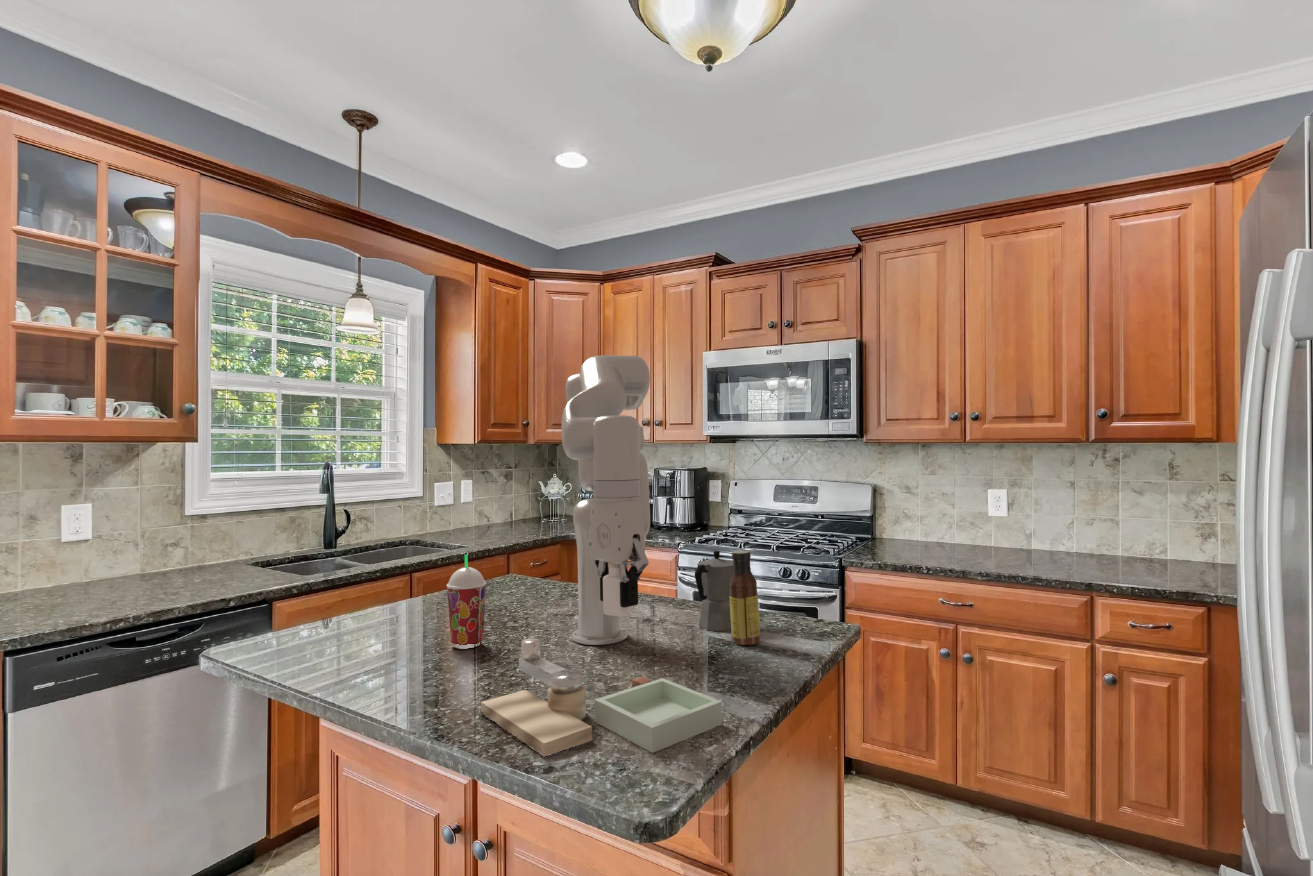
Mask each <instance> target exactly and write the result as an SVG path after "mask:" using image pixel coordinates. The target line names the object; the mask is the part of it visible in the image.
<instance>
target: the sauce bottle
mask: <svg viewBox="0 0 1313 876" xmlns="http://www.w3.org/2000/svg"><path fill="white" fill-rule="evenodd" d="M731 558H732V561H733V574H732V576H731V578H730V580H729V591H730V594H729V599H730V617H731V630H730V631H731V634H730V635H731V639H732V642H733V643H734V644H735V645H737V644H738V646H745V645H749V646H755V645H757V644H759V643H760V641H761V638H760V637H761V636H760V635H761V627H760V607H759V593H758V583H757V579H756V578H755V577H754V574H753V573H752V571H751V570H752V569H751V551H750V550H743V549H742V550H740V549H739V550H733V551H732V552H731Z"/></svg>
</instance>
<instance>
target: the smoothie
mask: <svg viewBox="0 0 1313 876" xmlns="http://www.w3.org/2000/svg"><path fill="white" fill-rule="evenodd" d="M468 557H469V555H468V554H464V567H460V568H459V569H457V570H456V571H454V573H453V574H451V576H450V578H449V580H448V583H447V584H446V589H447V590H446V591H447V604H448V605H447V606H448V616H449V617H448V618H449V620H448V621H449V629H450V630H449V631H450V643H451V644H452V645H453V644H459V645H467V644H477V643H479V642H481V643H482V641H483V640H484V628H485V627H484V626H485V605H486V585H487V582H486V580H485V579H484V576H483V575H482V573H481V572H480V571H479V570H478V569H476V568H474V567H472V566H469V562H468V561H469V560H468Z"/></svg>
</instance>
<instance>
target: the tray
mask: <svg viewBox="0 0 1313 876" xmlns="http://www.w3.org/2000/svg"><path fill="white" fill-rule="evenodd" d="M594 722H595V723H596V724H598V725H600V726H602V727H603V728H606V729H607V730H609V731H611V732H612V733H614V734H616V735H618V736H620V737H622V738H624V739H625V740H628V741H629V742H632V743H633V744H635V745H637V746H638V747H641V748H642V749H644V750H646V751H647V752H650V753H651V754H654V753H656V752H658V751H661V750H664V749H666V748H668V747H671V746H674V745H675V744H677V743H680V742H682V741H685V740H687V739H691V738H693V737H695V736H697V735H700V734H701V733H704V732H707V731H710V730H712V729H715V728H717V727H719V726H718V725H720V724H722V725H723V701H721V700H719V699H716V698H714V697H711V696H709V695H706V694H704V693H701V692H699V691H696V690H694V689H691V688H689V687H686V686H683V685H682V684H678V683H676V682H674V681H671V680H669V679H667V678H663V677H662V678H661V677H660V678H659V679H656V680H652V682H649V683H645V684H642V685H639V686H636V687H633V688H632V687H630V688H627V689H624V690H620V691H618V692H614V693H611V694H608V695H604V696H602V697H601V696H600V697H599V698H595V699H594ZM716 726H717V727H716ZM720 726H721V725H720ZM709 729H710V730H709Z"/></svg>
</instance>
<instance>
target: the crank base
mask: <svg viewBox="0 0 1313 876" xmlns="http://www.w3.org/2000/svg"><path fill="white" fill-rule="evenodd" d="M652 681H653V680H652V679H650V678H648V677H645V676H640V677H637V678H633V679H632V680H631V688H633V687H636V686H639V685H642V684H645V683H649V682H652ZM586 700H587V699H586V686H585V685H584V684H583V683H582V689H581V690H579V691H577V692H573V693H567V694H561V693H555V692H553V691H551V686H549V687H548V689H547V700H544V699H543V698H541V697H539V696H537V695H536V694H534V693H532V692H530V691H528V690H527V689H522V690H519V691H515V692H512V693H508V694H505V695H501V696H498V697H494V698H490V699H487V700H483V701H480V711H481V712H483V713H484V714H485V715H487V716H488V717H490V719H492V720H494V721H495V722H497V724H499V725H500V726H502V727H503V728H504V729H506V730H507V731H509V732H510V733H512V734H513V735H515V736H517V738H519V739H521V740H522V741H523V742H525V743H526V744H528V745H530V746H531V747H533V748H534V749H535V750H536V751H538V752H539V753H541V754H542V755H543V756H546V755H549V754H553V753H556V752H558V751H561V750H564V749H567V750H570V749H571V748H570V747H573V748H575V746H576V745H578V746H580V744H581V745H584V744H587V743H590V742H592V741H593V726H592V725H589V724H588V723H587V722H584V721H582V720H584V718H586V716H587V712H586V711H587V707H586V706H587V704H586ZM481 712H480V713H481ZM576 747H577V746H576ZM569 748H570V749H569ZM556 754H557V753H556Z"/></svg>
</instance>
